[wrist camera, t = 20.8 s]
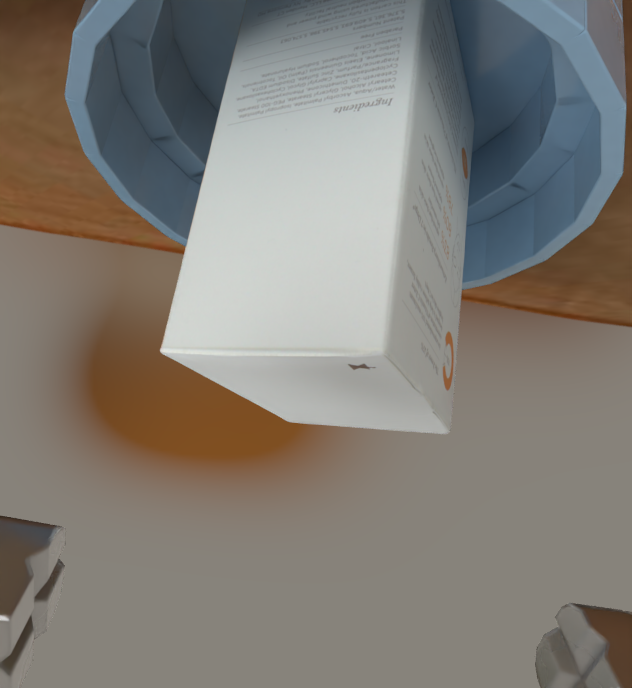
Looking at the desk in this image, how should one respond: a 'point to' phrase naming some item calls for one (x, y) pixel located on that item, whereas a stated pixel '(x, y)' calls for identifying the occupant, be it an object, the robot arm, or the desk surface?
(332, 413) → the small box
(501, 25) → the faceted blue bowl
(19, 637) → the robot arm
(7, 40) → the desk surface
